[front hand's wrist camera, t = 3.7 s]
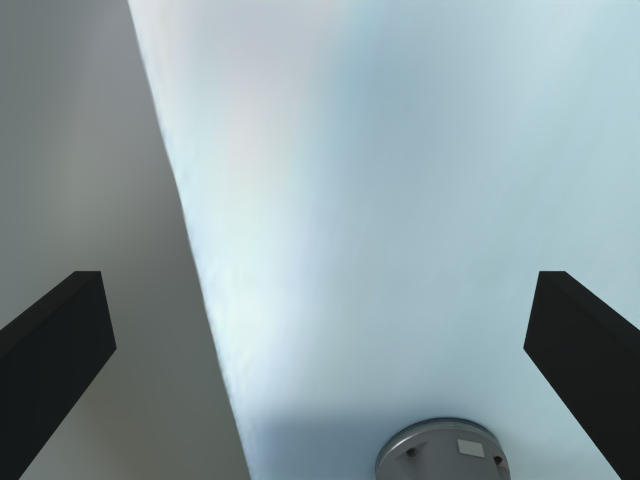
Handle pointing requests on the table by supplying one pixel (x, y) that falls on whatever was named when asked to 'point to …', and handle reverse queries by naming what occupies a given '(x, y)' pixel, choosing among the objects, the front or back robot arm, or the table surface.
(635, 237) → the table surface
